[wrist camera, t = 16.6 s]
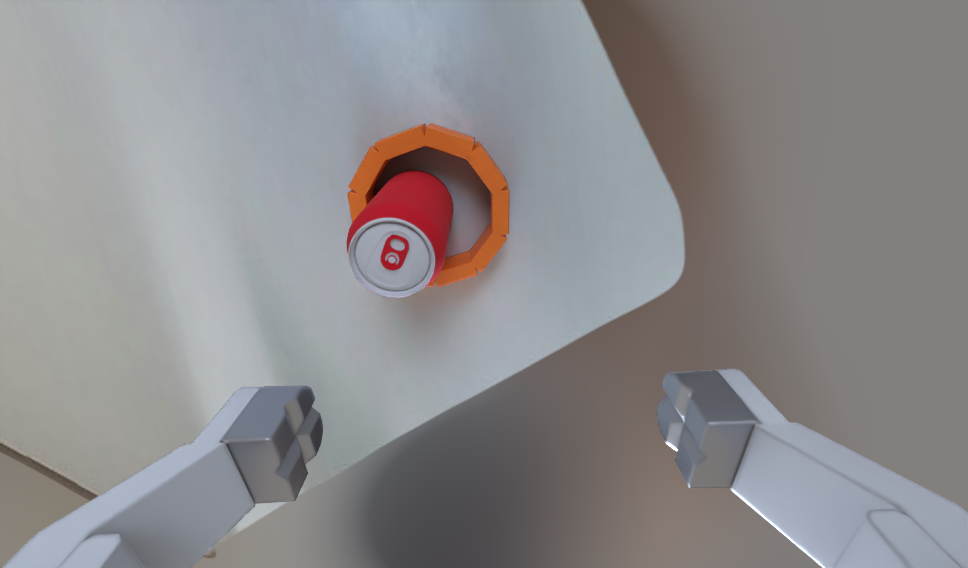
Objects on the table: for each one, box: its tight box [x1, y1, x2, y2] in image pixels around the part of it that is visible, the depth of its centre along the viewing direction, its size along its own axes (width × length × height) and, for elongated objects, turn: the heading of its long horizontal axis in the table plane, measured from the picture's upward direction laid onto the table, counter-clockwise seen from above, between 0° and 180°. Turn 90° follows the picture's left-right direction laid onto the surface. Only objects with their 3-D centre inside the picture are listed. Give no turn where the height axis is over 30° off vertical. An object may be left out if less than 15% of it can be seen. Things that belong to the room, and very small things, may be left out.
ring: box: [348, 123, 509, 287], centre depth 33 cm, size 13×13×3 cm
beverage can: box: [347, 170, 453, 298], centre depth 29 cm, size 6×6×12 cm
